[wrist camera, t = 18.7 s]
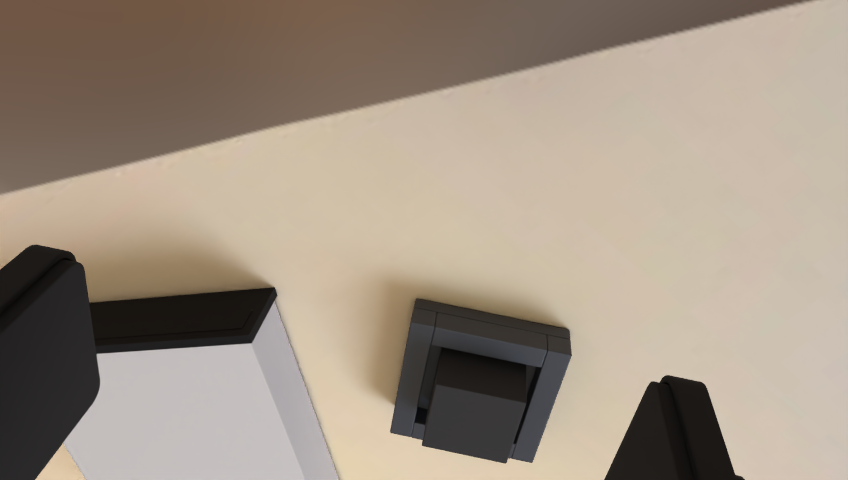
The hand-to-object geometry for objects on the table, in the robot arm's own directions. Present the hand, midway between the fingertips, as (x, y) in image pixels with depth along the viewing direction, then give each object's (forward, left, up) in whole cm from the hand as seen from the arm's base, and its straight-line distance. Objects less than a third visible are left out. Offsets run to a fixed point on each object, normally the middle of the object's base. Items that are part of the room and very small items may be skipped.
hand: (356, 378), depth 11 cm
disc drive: (-14, -33, -26) cm, 44 cm away
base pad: (+5, -23, -26) cm, 35 cm away
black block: (+5, -23, -25) cm, 35 cm away
